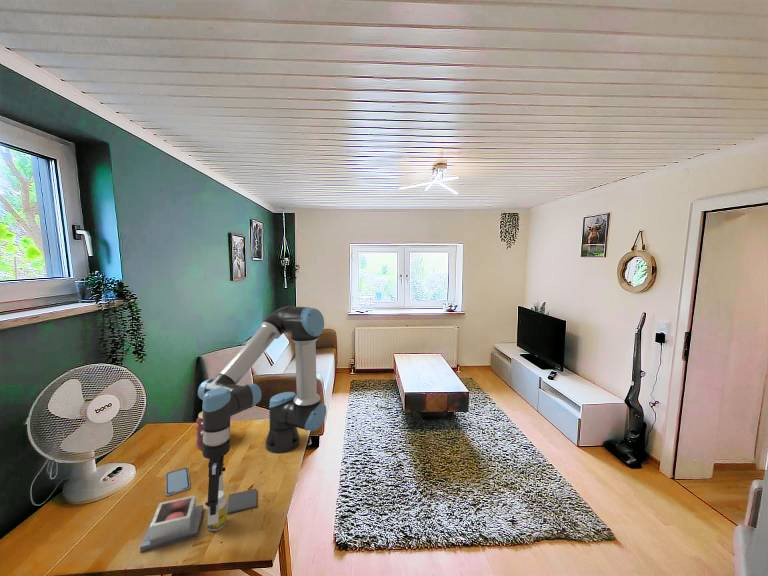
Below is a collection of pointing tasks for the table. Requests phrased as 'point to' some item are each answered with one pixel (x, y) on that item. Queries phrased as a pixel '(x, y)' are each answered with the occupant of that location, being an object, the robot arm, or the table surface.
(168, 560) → the table surface
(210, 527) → the supplement bottle
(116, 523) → the table surface
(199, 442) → the canister
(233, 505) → the gray square plate
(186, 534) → the grey open box
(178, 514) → the breaker button
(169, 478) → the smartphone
